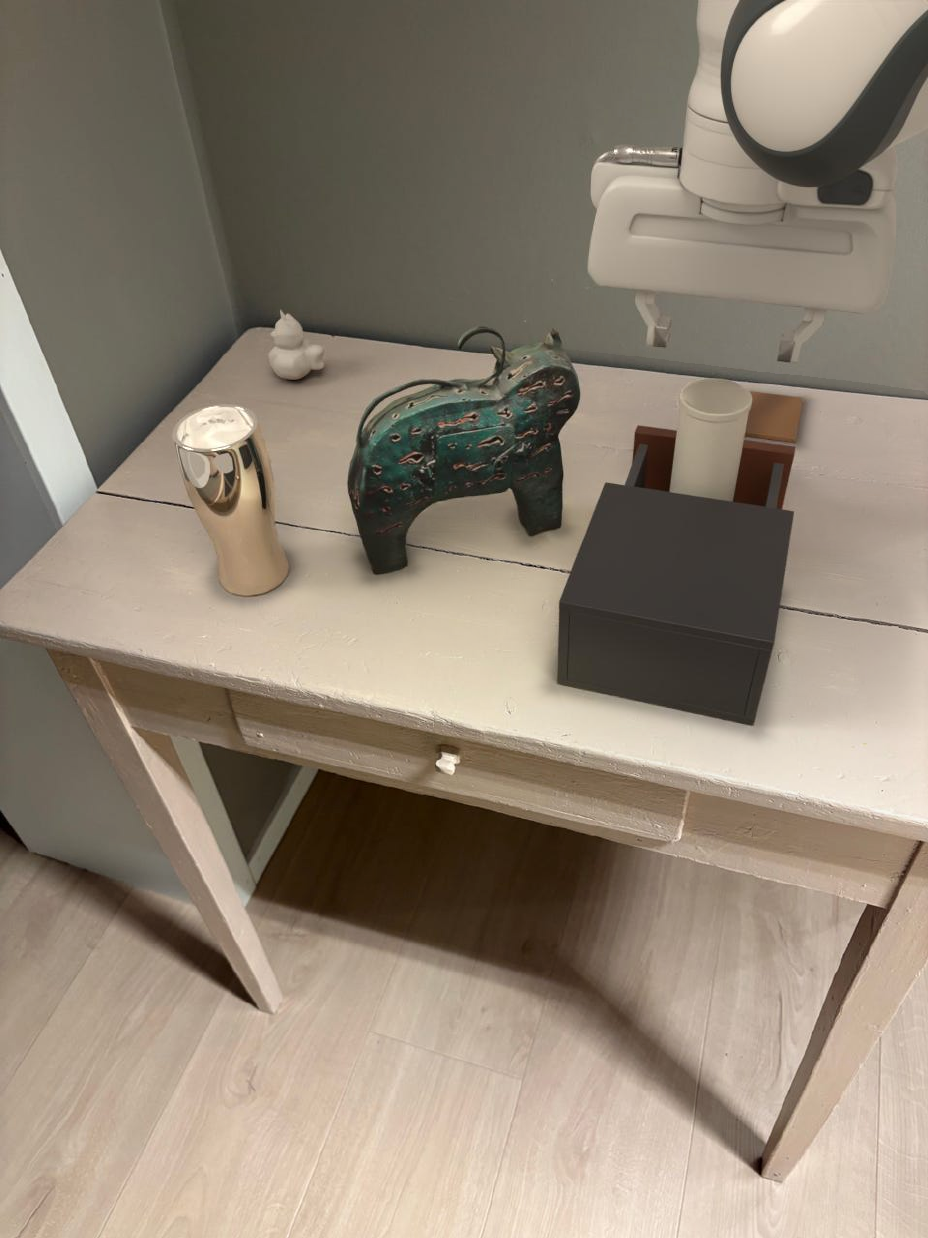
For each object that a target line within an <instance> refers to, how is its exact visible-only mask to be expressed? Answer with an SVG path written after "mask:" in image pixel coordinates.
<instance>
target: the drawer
mask: <svg viewBox="0 0 928 1238" xmlns="http://www.w3.org/2000/svg"><path fill="white" fill-rule="evenodd" d="M676 434H677V429H670V428H662V427H654V426H647V425H641V424H639V425H637V426H636V428H635V430H634V436H633V448H632V461H631V466H630V469H629V471H628V474H627V477H626V479H625V482H624V485H627V486H633V487H640V488H646V489H653V490H659V491H666V492H670V483H671V475H672V467H673V459H674V450H675V442H676ZM795 454H796V446H793V445H787V444H779V443H773V442H766V441H758V440H757V441H756V440H750V439H744V442H743V447H742V453H741V459H740V464H739V470H738V475H737V481H736V486H735V492H734V498H733V502H738V503H744V504H751V505H757V506H764V507H770V508H777V509H783V508H784V503H785V499H786V494H787V489H788V484H789V479H790V476H791V472H792V467H793V464H794V460H795Z"/></svg>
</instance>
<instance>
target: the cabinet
mask: <svg viewBox="0 0 928 1238" xmlns="http://www.w3.org/2000/svg"><path fill="white" fill-rule="evenodd" d="M794 516H795V511H794V510H788V509H783V508H782V509H777V508H770V507H764V506H757V505H751V504H744V503H738V502H731V501H725V500H718V499H711V498H705V497H698V496H692V495H685V494H679V493H672V492H666V491H659V490H653V489H646V488H640V487H633V486H627V485H625V484H619V483H612V482H605V483H604V484H603V487H602V489H601V493H600V496H599V498H598V500H597V502H596V506H595V507H594V510H593V513H592V516H591V518H590V521H589V523H588V527H586V528H587V529H586V531H585V533H584V536H583V539H582V541H581V544H580V547H579V548H578V551H577V555H576V557H575V559H574V562H573V564H572V567H571V570H570V572H569V575H568V577H567V579H566V583H565V585H564V588H563V589H562V590H563V591H562V593H561V596H560V597H559V601H558V627H557V628H558V629H557V630H558V631H557V632H558V633H557V668H556V669H557V670H556V671H557V674H556V676H557V677H556V684H557V685H561V686H565V687H569V688H573V689H574V688H575V689H579V690H583V691H587V692H594V693H598V694H603V695H606V696H611V697H612V696H613V697H618V698H620V699H621V698H622V699H626V700H631V701H634V702H635V701H636V702H641V703H645V704H649V705H654V706H659V707H664V708H667V709H674V710H678V711H682V712H687V713H691V714H692V713H693V714H697V715H701V716H707V717H712V718H715V719H721V720H725V721H728V722H729V721H730V722H734V723H738V724H739V723H740V724H743V725H748V726H754V725H755V722H756V717H757V713H758V711H759V705H760V702H761V698H762V693H763V689H764V685H765V681H766V678H767V673H768V670H769V666H770V661H771V657H772V653H773V650H774V645H775V642H776V641H775V640H776V633H777V626H778V619H779V613H780V609H781V608H780V607H781V600H782V595H783V587H784V581H785V574H786V569H787V562H788V561H787V560H788V555H789V549H790V541H791V535H792V528H793V521H794Z"/></svg>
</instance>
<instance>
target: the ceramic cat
mask: <svg viewBox="0 0 928 1238" xmlns="http://www.w3.org/2000/svg"><path fill="white" fill-rule="evenodd" d="M487 333H488V334H492V335H494V336H495V337H497V338H498V339H499V341H500V343H501V347H502V348H501V347H496V346H490V352H491V353H492V355H493V357H494V358H495V359H496V361H495V364H494V368H493V370H492V374H491V375H489V376H488V377H486V378H481V379H469V378H454V379H449V380H444V379H443V380H441V379H425V378H423V379H422V378H421V379H416V380H413V381H410V382H407V383H403V384H401V385H398V386H396V387H393V388H391V389H389V390H387V391H385V392H383V393H381V394H380V395H379V396H376V397H375V398H374V399H373V400H372V401H371V402H370V403H369V405H368V406H367V407H366V408H365V410H364V411H363V414H362V416H361V418H360V421H359V425H358V429H357V433H356V437H355V443H356V444H355V448H354V451H353V454H352V457H351V458H350V462H349V466H348V472H347V482H346V485H347V493H348V498H349V501H350V505H351V510H352V513H353V515H354V518H355V523H356V526H357V531H358V533H359V536H360V540H361V543H362V546H363V549H364V551H365V554H366V558H367V560H368V563H369V564H370V567H371V570H372V573H373V574H374V575H381V574H386V573H391V572H396V571H400V570H402V569H404V568H406V567H407V566H408V565H409V564H408V563H409V560H408V554H407V535H408V532H409V530H410V528H411V526H412V524H414V522H415V520H416V519H417V518H418V516H419V515H420V514H421V513H423V512H424V511H425V510H426V509H428V508H429V507H431V506H432V505H434V504H436V503H439V502H446V501H449V500H453V499H461V498H468V497H480V496H481V497H482V496H488V495H497V494H503V493H506V492H508V490H509V489H510V490H511V492H512V494H513V498H514V501H515V503H516V507H517V515H518V520H519V523H520V524H521V526H522V527H523V528H524V530H525V531H526V533H527V535H528V537H529V538H530V537H533V536H536V535H538V534H540V533H544V532H547V531H552V530H558V529H561V527H562V525H563V524H562V523H563V508H564V506H563V505H564V503H563V502H564V499H563V496H564V495H563V494H564V493H563V491H564V490H563V488H564V487H563V486H564V485H563V484H564V476H565V475H564V474H565V473H564V465H563V464H564V463H563V455H562V447H561V441H560V438H559V435H560V433H561V431H562V430H563V428H564V427H565V425H566V424H567V422H568V421H569V420H570V419H571V418H572V417H573V416H574V414H575V413H576V411H577V410H578V407H579V404H580V401H581V388H580V379H579V376H578V373H577V371H576V369H575V367H574V365H573V363H572V361H571V359H570V357H569V356H568V355H567V353H566V352H565V349H564V347H563V343H562V339H561V337H560V333H559V332H558V331H557V330H555V329H554V328H551V329H550V330H549V332H548V333H547V335H546V338H545V339H544V340H543V341H542V342H533V343H530V344H525V345H522V346H519V347H517V348H514V349H512V350H511V351H510V352H509V351H507V350H506V345H505V341H504V338H503V336H502V334H501V333H500V332H499V331H498V330H496V329H494V328H493V327H489V326H484V325H478V326H475V327H472V328H470V329H468V330H467V331H465V332H464V333H463V334H462V335H461V337H460V338H459V340H458V343H457V345H456V347H457V348H458V349H459V351H462V348H463V346H464V345H465V344H466V342H467V341H469V339H471V338H472V337H474V336H476V335H479V334H487ZM423 385H431V386H428V387H427V388H424V389H422V390H419V391H417V392H414V393H411V394H408V395H404V396H402V397H399V398H396V399H394V400H393V401H391V402H389V403H388V404H387V406H385V407H384V408H383V409H382V410H380V411H378V413H376V414H375V415H373V417H372V418H371V419H370V420H369V421H368V422H367V424H366V425H365V423H366V421H367V420H368V418H369V416H370V415H371V414H372V412H373V411H374V410H375V408H376V407H377V406H378V405H379V404H380V403H381V402H383V401H384V400H386V399H388V398H389V397H392V396H394V395H396V394H399V393H400V392H403V391H405V390H407V389H410V388H413V387H418V386H423ZM364 426H365V427H364Z"/></svg>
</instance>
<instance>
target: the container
mask: <svg viewBox="0 0 928 1238" xmlns="http://www.w3.org/2000/svg"><path fill="white" fill-rule="evenodd" d="M749 391H750V390H749V389H747V387H745V386H744V385H742V384H740V383H738V382H735V381H732V380H730V379H725V378H717V377H716V378H713V377H712V378H709V377H708V378H701V379H697V380H693V381H691V382H689V383H687V384H686V385H684V387H682V389H681V390H680V392H679V399H678V402H679V409H678V410H679V411H678V418H677V426H676V430H677V434H676V442H675V450H674V459H673V467H672V475H671V483H670V492H672V493H679V494H685V495H692V496H698V497H705V498H711V499H718V500H725V501H731V502H733V498H734V492H735V486H736V481H737V475H738V470H739V464H740V459H741V453H742V447H743V442H744V440H745V437H746V436H745V431H746V425H747V420H748V414H749V411H750V409H751V405H752V395H751V393H750V392H749Z"/></svg>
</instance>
